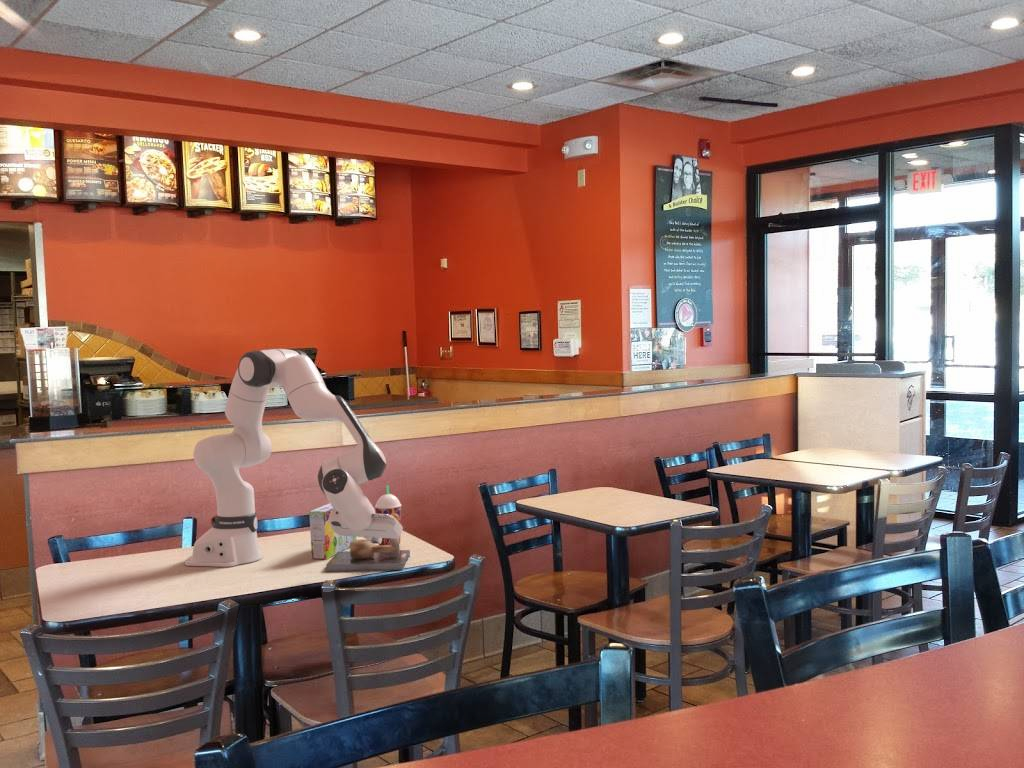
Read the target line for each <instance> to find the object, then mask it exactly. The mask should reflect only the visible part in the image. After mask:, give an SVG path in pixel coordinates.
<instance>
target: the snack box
mask: <svg viewBox="0 0 1024 768" xmlns="http://www.w3.org/2000/svg"><path fill="white" fill-rule="evenodd" d="M332 509H333V507H332V505H331V504H330V502H328V503H327V504H324V505H322V506H320V507H316V508H314V509H313V510H309V512H308V515H309V528H310V531H309V532H310V545H311V546H310V549H311V559H312V560H328V559H330V558H333V557H334V555H335V554H336V553H337V552H343V551H345V550H348V549H350V542H352V541H356V540H357V536H341V535H338V534H336V533H335V532H334V530H333V529H332V527H331V525H330V524H329V523H328V519H329V516H330V513H331V511H332Z"/></svg>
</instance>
